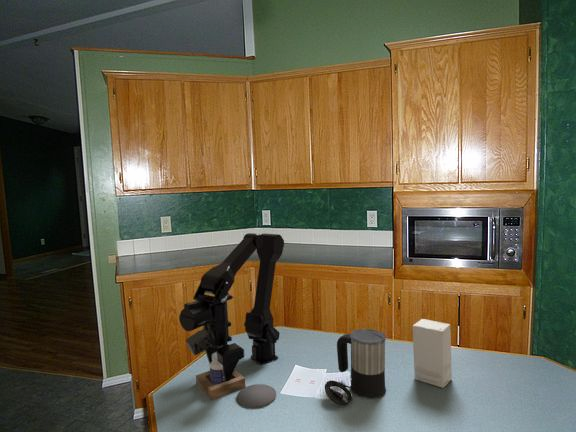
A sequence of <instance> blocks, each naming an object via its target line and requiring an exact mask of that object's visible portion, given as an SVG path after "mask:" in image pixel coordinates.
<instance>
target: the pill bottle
mask: <svg viewBox="0 0 576 432" xmlns="http://www.w3.org/2000/svg"><path fill="white" fill-rule="evenodd" d="M217 360H218V358H217V352H215V353H213V354H212V362H211V363H210V364H209V371H210V382H211V383H212V384H213V385H214V386H215V385H217V384H220V383H223V382H226V381H225V377H224V371H223V366H222V364H221V363H220V362H218V361H217Z"/></svg>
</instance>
